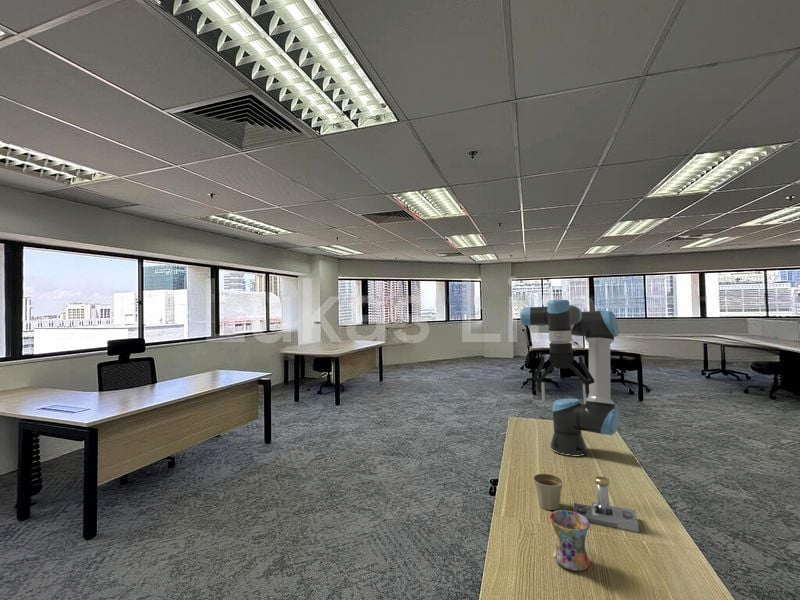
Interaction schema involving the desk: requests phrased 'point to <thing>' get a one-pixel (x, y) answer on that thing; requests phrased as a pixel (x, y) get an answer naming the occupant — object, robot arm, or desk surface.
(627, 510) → the grey slotted base plate
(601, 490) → the pin
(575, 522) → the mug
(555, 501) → the flower pot
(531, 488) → the desk surface
